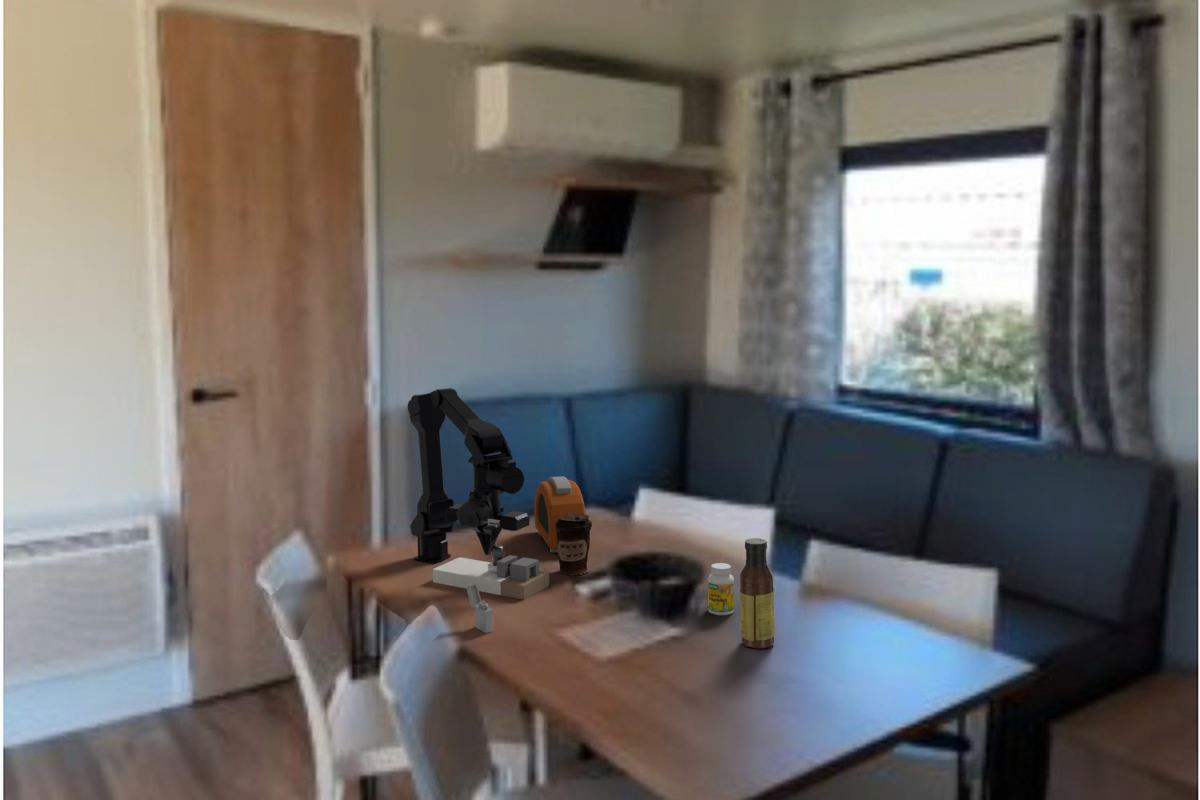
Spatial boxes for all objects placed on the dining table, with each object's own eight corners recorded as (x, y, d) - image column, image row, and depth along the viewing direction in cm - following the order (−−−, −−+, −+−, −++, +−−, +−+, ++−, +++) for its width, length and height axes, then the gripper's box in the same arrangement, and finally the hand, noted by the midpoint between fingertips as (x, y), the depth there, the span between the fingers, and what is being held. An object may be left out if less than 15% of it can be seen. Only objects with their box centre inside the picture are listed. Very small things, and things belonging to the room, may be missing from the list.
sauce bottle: (776, 639, 189) (779, 537, 186) (771, 652, 183) (773, 546, 180) (742, 635, 191) (744, 534, 188) (735, 647, 185) (737, 543, 183)
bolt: (487, 571, 220) (486, 546, 219) (493, 568, 222) (493, 544, 221) (525, 578, 215) (525, 553, 214) (531, 575, 217) (531, 550, 216)
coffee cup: (591, 578, 225) (591, 522, 223) (554, 578, 225) (554, 521, 223) (592, 566, 234) (592, 511, 232) (557, 566, 234) (556, 511, 232)
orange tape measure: (534, 531, 263) (533, 469, 261) (567, 529, 266) (567, 467, 263) (551, 557, 241) (550, 489, 238) (587, 554, 243) (587, 487, 241)
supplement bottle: (737, 608, 206) (737, 563, 204) (729, 617, 201) (730, 571, 199) (711, 605, 208) (712, 560, 206) (704, 613, 203) (704, 568, 202)
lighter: (493, 631, 194) (492, 591, 193) (486, 633, 193) (485, 593, 192) (474, 620, 199) (473, 581, 198) (466, 622, 198) (465, 583, 197)
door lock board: (433, 582, 223) (432, 554, 222) (459, 569, 231) (459, 542, 230) (524, 599, 211) (523, 570, 210) (549, 585, 220) (548, 557, 219)
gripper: (429, 488, 216) (431, 558, 218) (501, 498, 207) (502, 571, 209) (460, 478, 225) (461, 545, 228) (530, 487, 217) (531, 557, 219)
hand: (487, 554), depth 221 cm, fingers closed
